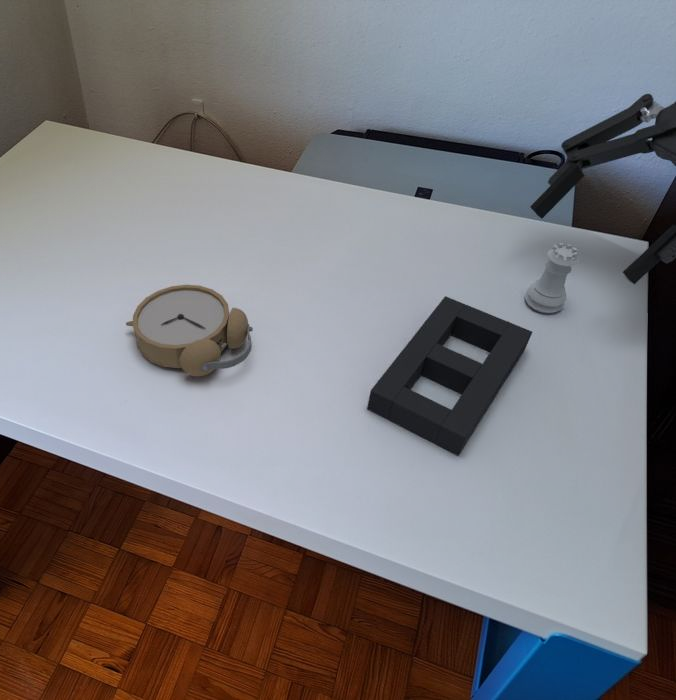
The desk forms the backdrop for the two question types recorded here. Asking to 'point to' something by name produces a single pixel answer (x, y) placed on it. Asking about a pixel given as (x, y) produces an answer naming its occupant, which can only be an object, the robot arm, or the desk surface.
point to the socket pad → (449, 374)
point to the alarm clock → (189, 329)
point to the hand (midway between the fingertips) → (579, 244)
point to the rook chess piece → (552, 280)
